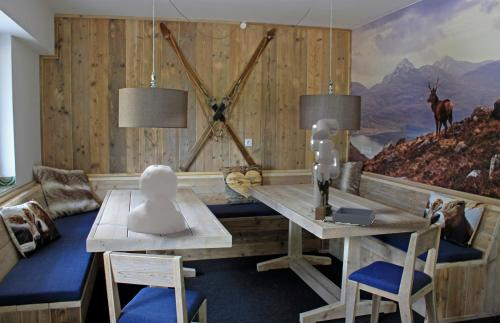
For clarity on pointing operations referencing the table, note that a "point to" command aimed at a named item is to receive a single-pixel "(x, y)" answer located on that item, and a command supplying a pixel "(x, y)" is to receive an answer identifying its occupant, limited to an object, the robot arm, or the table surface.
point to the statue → (322, 193)
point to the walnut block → (320, 213)
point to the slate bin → (354, 216)
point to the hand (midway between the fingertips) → (324, 189)
